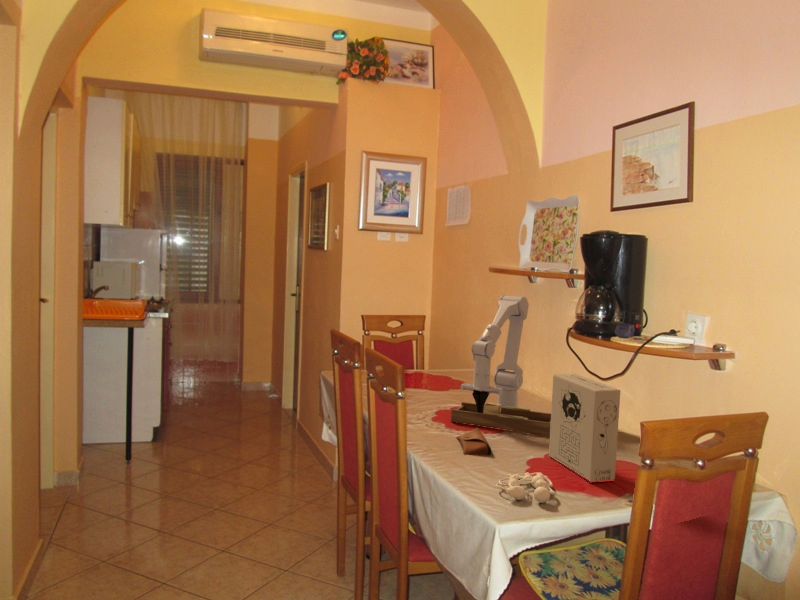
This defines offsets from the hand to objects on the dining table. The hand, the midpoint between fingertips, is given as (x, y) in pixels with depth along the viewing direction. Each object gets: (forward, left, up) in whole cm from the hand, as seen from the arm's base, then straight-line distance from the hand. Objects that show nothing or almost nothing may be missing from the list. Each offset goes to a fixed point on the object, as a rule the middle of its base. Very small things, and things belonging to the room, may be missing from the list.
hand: (480, 411), depth 219 cm
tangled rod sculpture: (+57, +27, -4) cm, 63 cm away
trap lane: (0, +8, -3) cm, 9 cm away
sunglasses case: (+28, +5, -4) cm, 29 cm away
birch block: (0, +4, -1) cm, 4 cm away
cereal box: (+34, +38, -4) cm, 51 cm away
